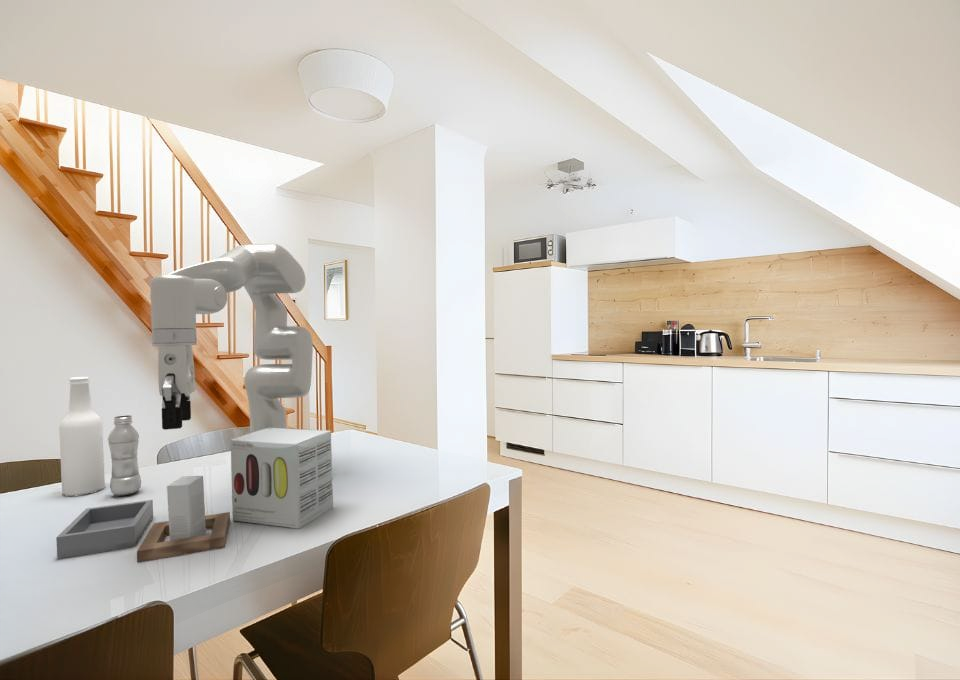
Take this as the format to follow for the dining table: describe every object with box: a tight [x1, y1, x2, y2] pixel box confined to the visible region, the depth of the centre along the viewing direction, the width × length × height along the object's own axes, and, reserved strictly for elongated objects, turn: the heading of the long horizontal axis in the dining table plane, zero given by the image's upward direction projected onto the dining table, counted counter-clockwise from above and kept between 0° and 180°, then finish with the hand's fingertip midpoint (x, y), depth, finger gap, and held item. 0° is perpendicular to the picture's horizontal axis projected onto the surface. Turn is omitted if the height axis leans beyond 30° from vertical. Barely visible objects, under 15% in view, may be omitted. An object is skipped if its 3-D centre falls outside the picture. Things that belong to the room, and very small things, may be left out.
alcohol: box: [58, 376, 106, 497], centre depth 129 cm, size 9×9×30 cm
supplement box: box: [230, 428, 334, 530], centre depth 110 cm, size 17×13×18 cm
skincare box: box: [166, 475, 207, 541], centre depth 98 cm, size 6×4×12 cm
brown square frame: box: [136, 511, 231, 563], centre depth 98 cm, size 14×14×2 cm
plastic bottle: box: [107, 415, 142, 496], centre depth 126 cm, size 6×7×20 cm
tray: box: [56, 499, 154, 560], centre depth 100 cm, size 12×16×4 cm
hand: (177, 424), depth 98 cm, fingers open, 9 cm apart
